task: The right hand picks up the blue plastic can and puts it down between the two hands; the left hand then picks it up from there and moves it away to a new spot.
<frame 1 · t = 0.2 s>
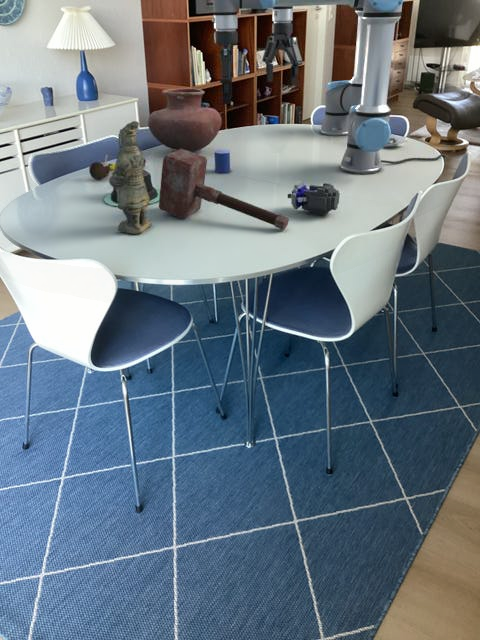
left hand: (281, 83, 218), 28 cm above the table, tool pointing down, fingers open, 13 cm apart
right hand: (227, 100, 189), 27 cm above the table, tool pointing down, fingers open, 13 cm apart
sledgehammer: (224, 220, 166), on the table
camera: (386, 146, 242), on the table
can: (222, 171, 213), on the table
statue: (134, 229, 162), on the table
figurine: (118, 173, 213), on the table
chocolate cake: (134, 197, 187), on the table
toy: (312, 213, 171), on the table
clay pot: (187, 151, 241), on the table
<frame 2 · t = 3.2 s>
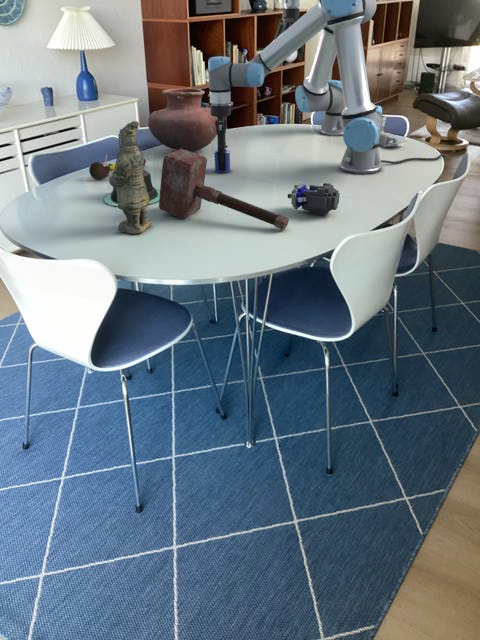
left hand: (290, 57, 270), 31 cm above the table, tool pointing down, fingers open, 13 cm apart
right hand: (222, 167, 212), 1 cm above the table, tool pointing down, fingers closed on can, 6 cm apart
can: (222, 171, 213), on the table, touching right hand
everything else where it was.
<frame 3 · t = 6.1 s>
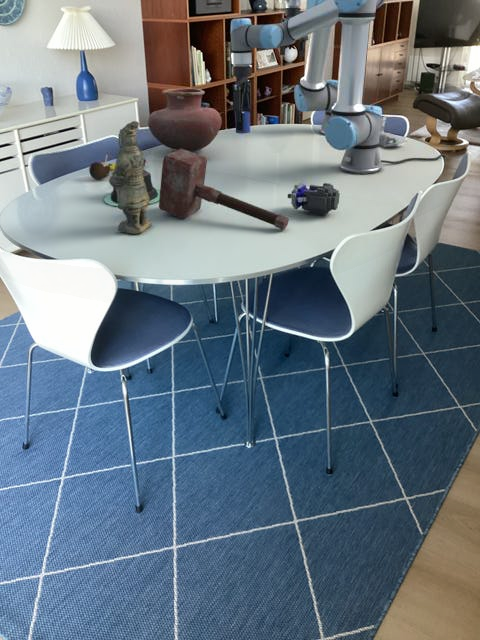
left hand: (291, 55, 278), 31 cm above the table, tool pointing down, fingers open, 13 cm apart
right hand: (243, 128, 221), 12 cm above the table, tool pointing down, fingers closed on can, 6 cm apart
can: (242, 132, 222), point 11 cm above the table, touching right hand
everything else where it was.
when the right hand's fingers open (3 cm above the table, at t = 9.1 s): can drops 1 cm, on the table.
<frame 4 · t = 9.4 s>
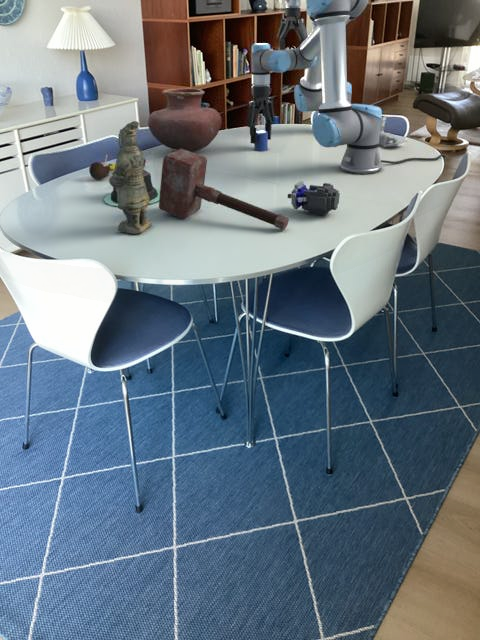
left hand: (291, 55, 278), 31 cm above the table, tool pointing down, fingers open, 13 cm apart
right hand: (260, 141, 240), 4 cm above the table, tool pointing down, fingers open, 9 cm apart
can: (260, 149, 242), on the table
everything else where it was.
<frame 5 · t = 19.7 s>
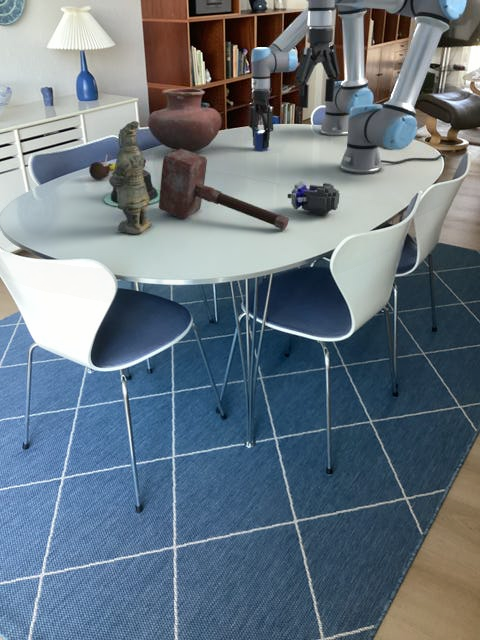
left hand: (260, 146, 241), 1 cm above the table, tool pointing down, fingers closed on can, 6 cm apart
right hand: (316, 104, 173), 28 cm above the table, tool pointing down, fingers open, 13 cm apart
can: (260, 149, 242), on the table, touching left hand
everything else where it was.
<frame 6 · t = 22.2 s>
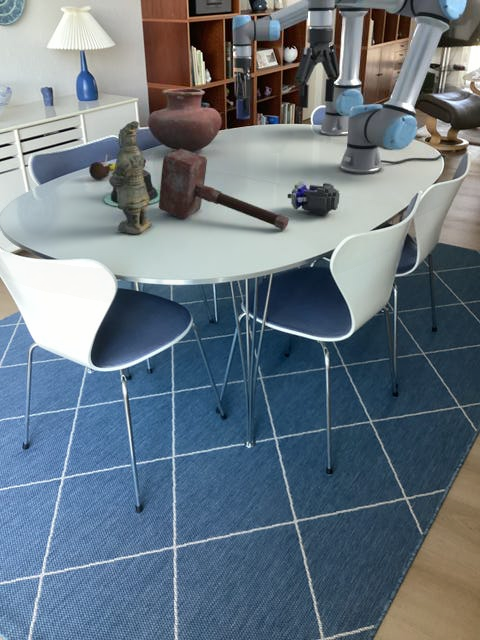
left hand: (243, 114, 246), 13 cm above the table, tool pointing down, fingers closed on can, 6 cm apart
right hand: (316, 104, 173), 28 cm above the table, tool pointing down, fingers open, 13 cm apart
can: (243, 117, 246), point 11 cm above the table, touching left hand
everything else where it was.
when the left hand's fingers open (3 cm above the table, at t = 24.6 s): can drops 1 cm, on the table.
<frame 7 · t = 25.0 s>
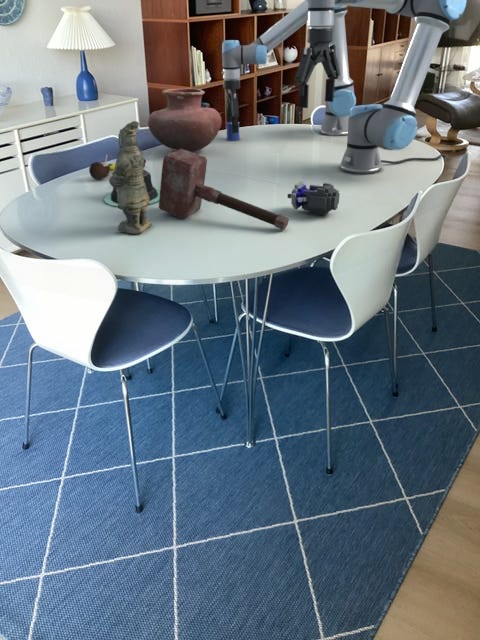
left hand: (232, 130, 257), 4 cm above the table, tool pointing down, fingers open, 11 cm apart
right hand: (316, 104, 173), 28 cm above the table, tool pointing down, fingers open, 13 cm apart
can: (233, 139, 259), on the table
everything else where it was.
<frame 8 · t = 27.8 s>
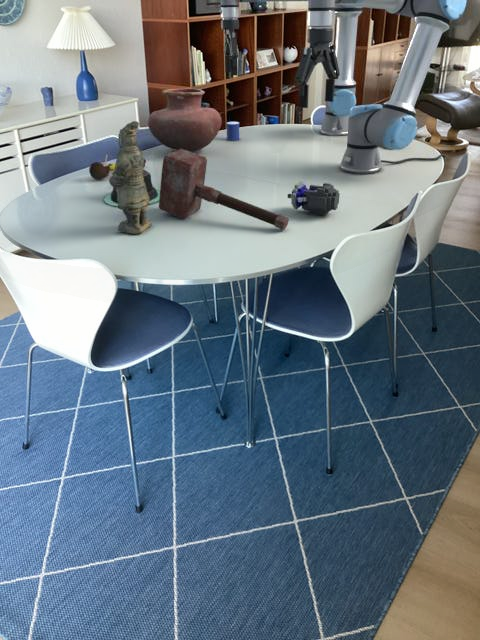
left hand: (231, 73, 245), 28 cm above the table, tool pointing down, fingers open, 13 cm apart
right hand: (316, 104, 173), 28 cm above the table, tool pointing down, fingers open, 13 cm apart
nothing on the table moved.
at the end: can inside the target area (0.1 cm from its centre), on the table; can tilted 0°; the two hands never held the can at the same time; the left hand is holding nothing; the right hand is holding nothing; can at rest at the end (0.0 cm/s) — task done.
